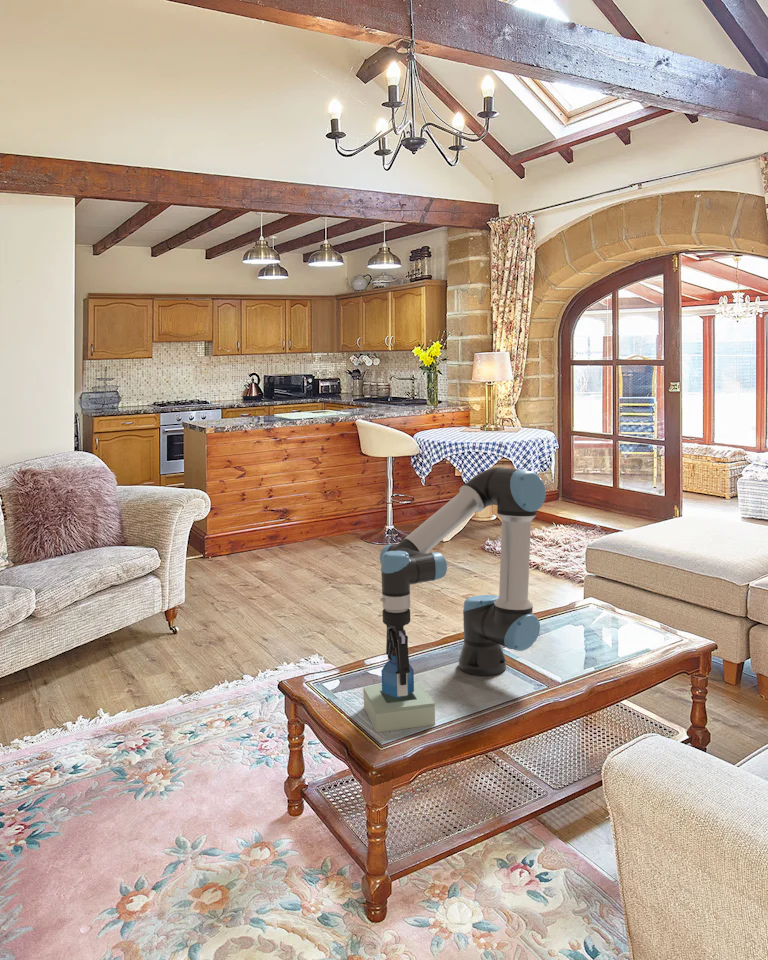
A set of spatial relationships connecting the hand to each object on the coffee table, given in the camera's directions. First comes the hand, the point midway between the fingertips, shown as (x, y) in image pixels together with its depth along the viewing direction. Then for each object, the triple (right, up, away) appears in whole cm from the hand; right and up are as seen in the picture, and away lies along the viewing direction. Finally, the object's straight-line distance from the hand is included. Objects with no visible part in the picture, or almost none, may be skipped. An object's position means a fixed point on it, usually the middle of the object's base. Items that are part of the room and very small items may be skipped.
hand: (398, 688), depth 206 cm
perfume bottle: (0, -1, 0) cm, 1 cm away
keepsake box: (0, -8, +1) cm, 8 cm away
